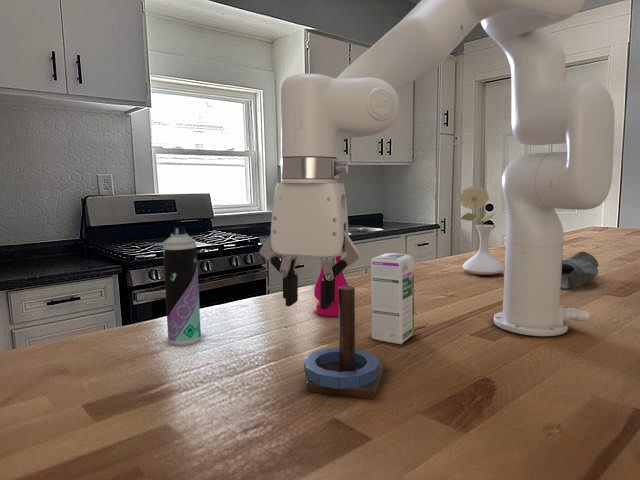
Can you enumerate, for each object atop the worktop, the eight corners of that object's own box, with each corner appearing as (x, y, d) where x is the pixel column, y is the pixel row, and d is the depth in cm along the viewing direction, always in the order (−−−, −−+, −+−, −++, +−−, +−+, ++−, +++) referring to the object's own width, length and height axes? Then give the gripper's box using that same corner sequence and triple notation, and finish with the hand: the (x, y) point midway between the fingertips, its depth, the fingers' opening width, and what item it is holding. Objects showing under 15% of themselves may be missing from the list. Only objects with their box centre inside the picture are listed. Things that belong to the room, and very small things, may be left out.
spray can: (171, 347, 77) (164, 229, 75) (166, 338, 82) (159, 226, 80) (204, 342, 80) (198, 226, 77) (197, 332, 85) (191, 224, 82)
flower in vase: (508, 271, 134) (511, 185, 131) (499, 279, 124) (503, 186, 121) (462, 267, 141) (464, 185, 138) (451, 274, 131) (453, 186, 128)
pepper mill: (346, 318, 92) (345, 218, 90) (311, 316, 94) (309, 218, 91) (351, 308, 99) (350, 215, 97) (318, 306, 101) (316, 215, 98)
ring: (385, 362, 67) (385, 352, 67) (367, 393, 58) (367, 381, 57) (320, 354, 71) (320, 344, 71) (292, 381, 61) (292, 370, 61)
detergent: (586, 293, 109) (617, 274, 126) (585, 263, 108) (616, 248, 125) (529, 288, 118) (565, 271, 135) (528, 260, 118) (564, 247, 134)
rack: (384, 370, 67) (384, 281, 66) (374, 399, 59) (374, 298, 57) (324, 364, 70) (323, 278, 68) (306, 391, 61) (304, 294, 59)
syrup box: (402, 345, 77) (403, 259, 75) (370, 338, 80) (370, 256, 78) (414, 335, 82) (415, 254, 80) (383, 329, 85) (384, 251, 83)
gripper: (376, 173, 63) (373, 303, 65) (262, 172, 68) (263, 294, 70) (366, 172, 56) (363, 318, 58) (239, 171, 61) (241, 307, 63)
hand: (308, 304), depth 64 cm, fingers open, 4 cm apart
